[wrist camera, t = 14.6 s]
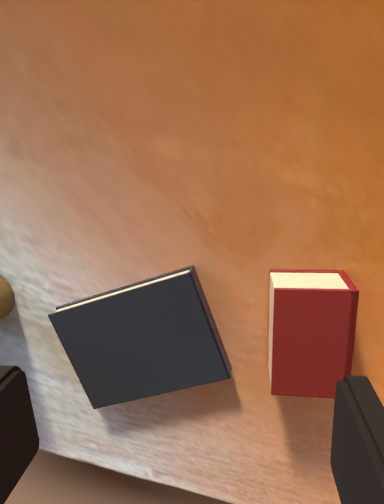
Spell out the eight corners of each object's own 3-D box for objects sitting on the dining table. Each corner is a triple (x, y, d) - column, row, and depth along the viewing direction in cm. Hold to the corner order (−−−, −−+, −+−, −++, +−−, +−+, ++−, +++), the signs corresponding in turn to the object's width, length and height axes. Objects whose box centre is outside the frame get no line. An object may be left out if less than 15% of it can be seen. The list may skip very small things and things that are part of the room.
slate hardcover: (193, 265, 36) (190, 272, 35) (231, 366, 39) (230, 378, 37) (56, 306, 40) (47, 315, 38) (100, 397, 43) (93, 409, 41)
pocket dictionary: (343, 270, 35) (359, 290, 30) (335, 366, 38) (348, 399, 33) (270, 269, 36) (274, 289, 31) (267, 363, 39) (271, 395, 34)
